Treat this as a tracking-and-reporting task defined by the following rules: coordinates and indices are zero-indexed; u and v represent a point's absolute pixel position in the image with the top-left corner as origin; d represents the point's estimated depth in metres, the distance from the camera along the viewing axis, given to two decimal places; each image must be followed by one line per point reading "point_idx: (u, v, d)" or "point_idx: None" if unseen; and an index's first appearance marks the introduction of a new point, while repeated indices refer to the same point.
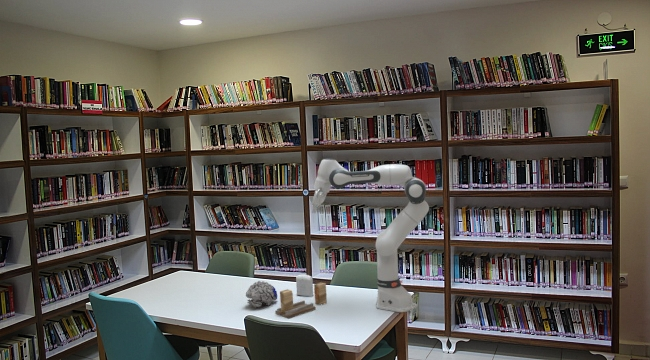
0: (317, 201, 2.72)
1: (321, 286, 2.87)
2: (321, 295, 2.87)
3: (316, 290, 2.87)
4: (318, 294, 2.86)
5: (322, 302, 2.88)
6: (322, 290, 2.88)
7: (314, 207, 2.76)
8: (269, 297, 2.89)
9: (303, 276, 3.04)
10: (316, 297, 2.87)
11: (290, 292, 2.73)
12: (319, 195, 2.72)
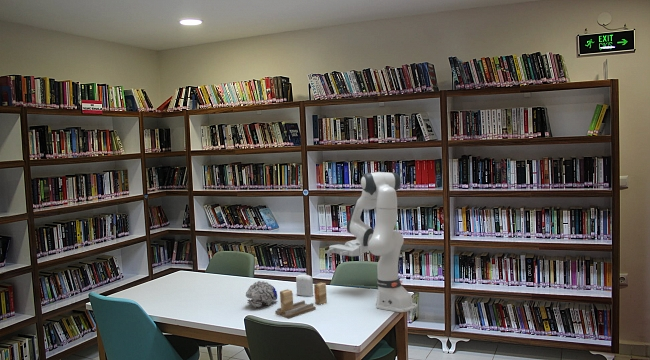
0: None
1: (321, 286, 2.87)
2: (321, 295, 2.87)
3: (316, 290, 2.87)
4: (318, 294, 2.86)
5: (322, 302, 2.88)
6: (322, 290, 2.88)
7: None
8: (269, 297, 2.89)
9: (303, 276, 3.04)
10: (316, 297, 2.87)
11: (290, 292, 2.73)
12: None
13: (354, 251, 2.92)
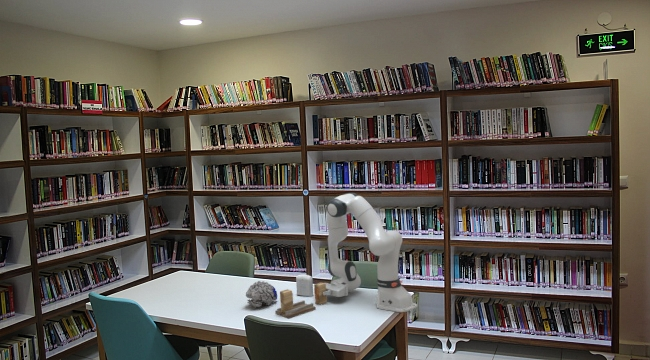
0: None
1: (321, 286, 2.87)
2: (321, 295, 2.87)
3: (316, 290, 2.87)
4: (318, 294, 2.86)
5: (322, 302, 2.88)
6: (322, 290, 2.88)
7: None
8: (269, 297, 2.89)
9: (303, 276, 3.04)
10: (316, 297, 2.87)
11: (290, 292, 2.73)
12: None
13: (339, 292, 2.85)
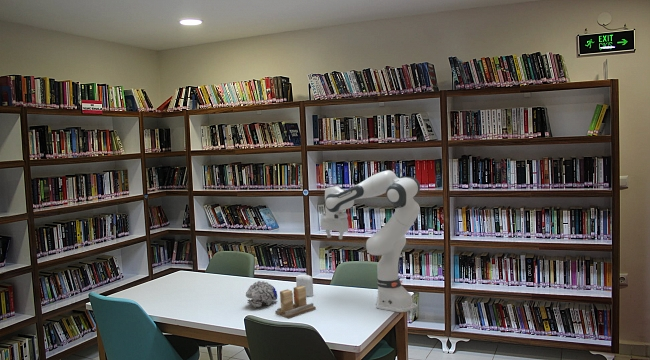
0: None
1: (300, 289, 2.77)
2: (300, 298, 2.77)
3: (295, 294, 2.77)
4: (297, 298, 2.77)
5: None
6: (301, 294, 2.78)
7: None
8: (269, 297, 2.89)
9: (303, 276, 3.04)
10: (295, 301, 2.78)
11: (290, 292, 2.73)
12: None
13: (345, 229, 2.89)
